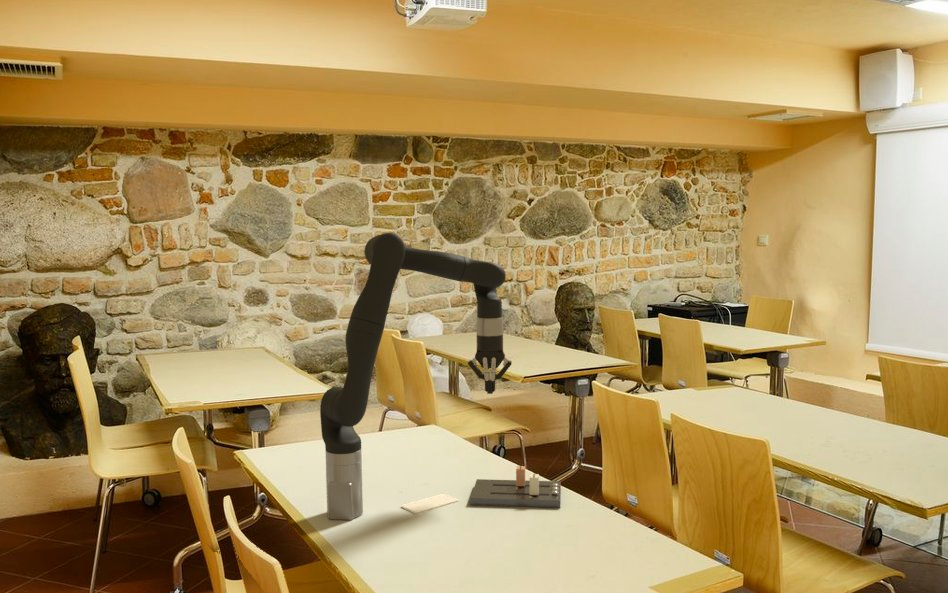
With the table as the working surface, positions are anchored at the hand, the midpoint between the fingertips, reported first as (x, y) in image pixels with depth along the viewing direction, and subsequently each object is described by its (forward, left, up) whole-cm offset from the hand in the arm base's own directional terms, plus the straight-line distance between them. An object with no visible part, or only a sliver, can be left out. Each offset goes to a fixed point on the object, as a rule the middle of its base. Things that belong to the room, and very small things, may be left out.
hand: (490, 393), depth 230 cm
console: (-9, -8, -27) cm, 30 cm away
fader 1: (-5, -9, -25) cm, 27 cm away
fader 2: (-13, -13, -25) cm, 31 cm away
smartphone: (-17, +15, -28) cm, 36 cm away
